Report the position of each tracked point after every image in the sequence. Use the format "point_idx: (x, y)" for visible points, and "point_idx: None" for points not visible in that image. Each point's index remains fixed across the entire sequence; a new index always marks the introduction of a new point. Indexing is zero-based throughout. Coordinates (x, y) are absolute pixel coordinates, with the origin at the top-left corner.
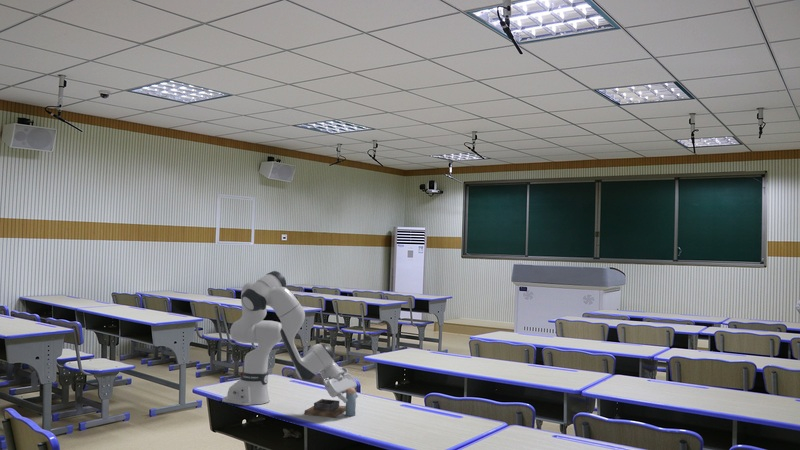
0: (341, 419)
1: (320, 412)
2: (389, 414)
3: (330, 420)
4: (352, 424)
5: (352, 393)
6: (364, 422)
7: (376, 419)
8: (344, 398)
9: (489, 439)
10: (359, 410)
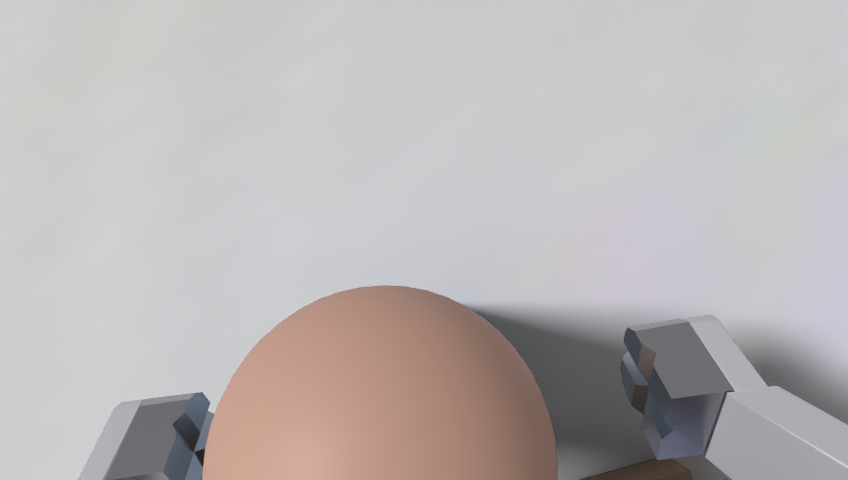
0: None
1: None
2: (96, 23)
3: None
4: (749, 90)
5: (481, 320)
6: (578, 36)
7: (377, 9)
8: (757, 389)
9: None
10: None
